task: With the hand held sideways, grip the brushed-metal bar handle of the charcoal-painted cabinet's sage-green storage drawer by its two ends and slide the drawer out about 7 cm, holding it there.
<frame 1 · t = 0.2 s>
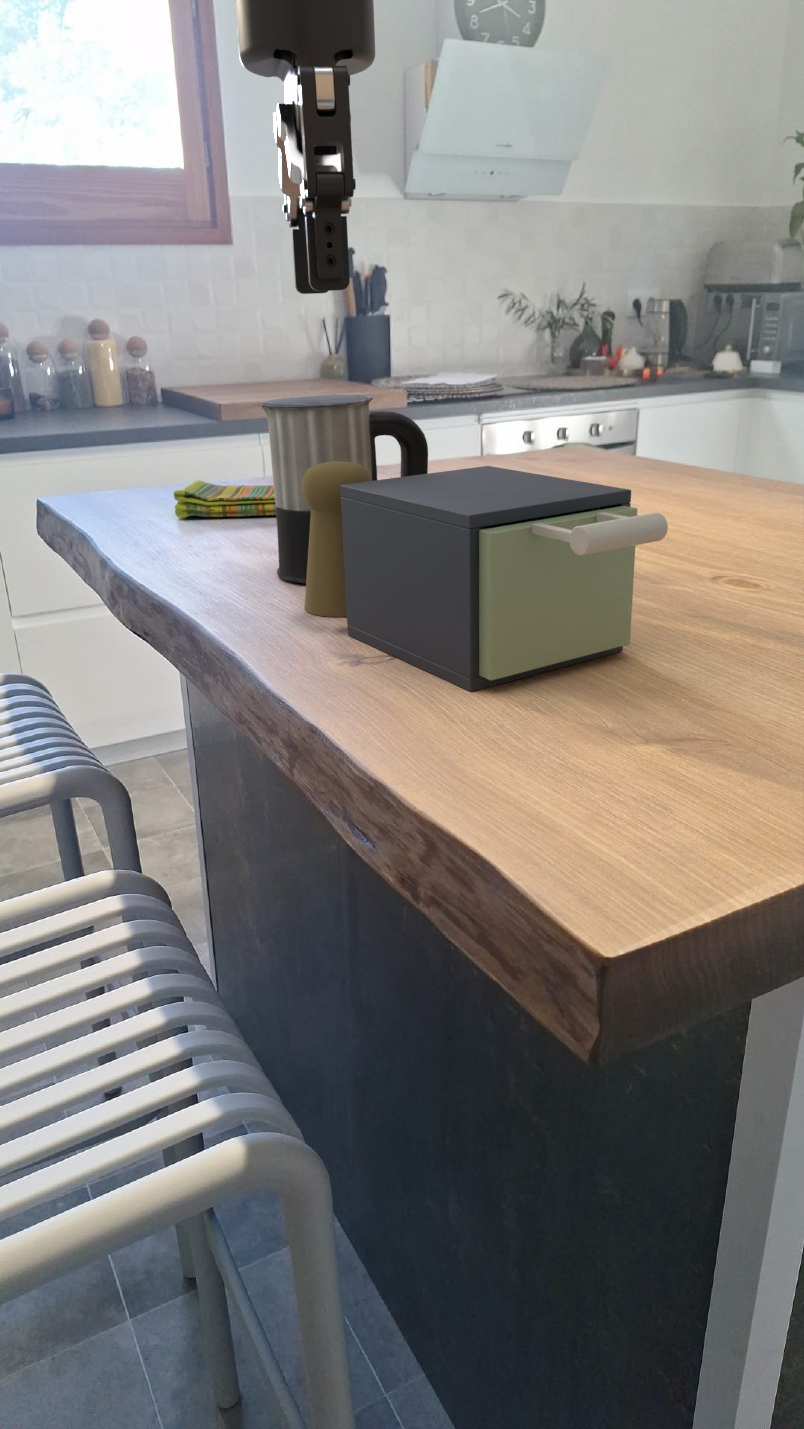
hand: (321, 292, 61), 23 cm above the table, tool pointing down, fingers open, 8 cm apart
milk frother: (333, 564, 94), on the table
dish towel: (333, 505, 122), on the table
olive pawn: (343, 608, 80), on the table
cabinet: (480, 643, 70), on the table
drawer: (520, 574, 64), point 6 cm above the table, slide at 0.0 cm
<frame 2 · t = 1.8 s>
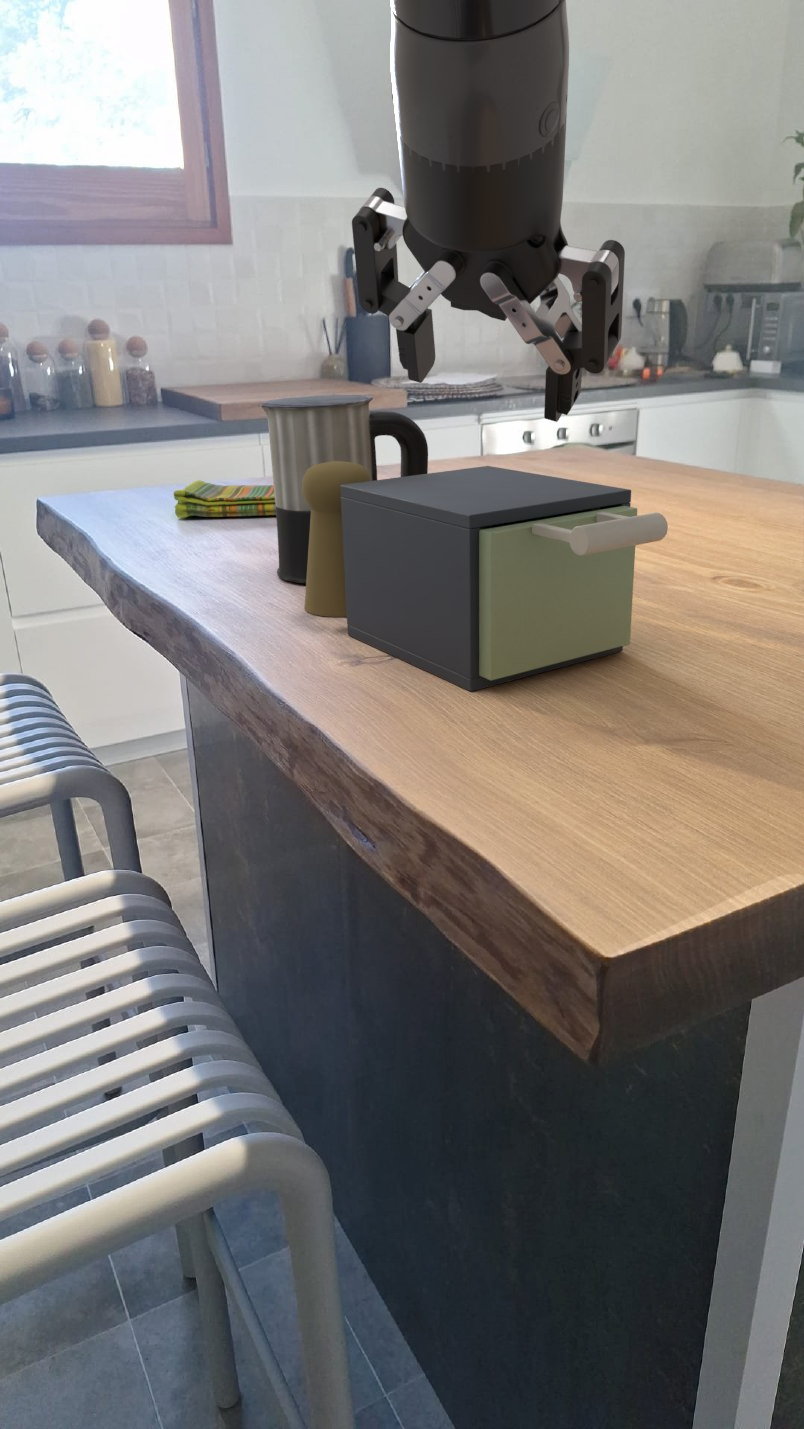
hand: (488, 391, 59), 17 cm above the table, tool tilted 40°, fingers open, 8 cm apart
nothing on the table moved.
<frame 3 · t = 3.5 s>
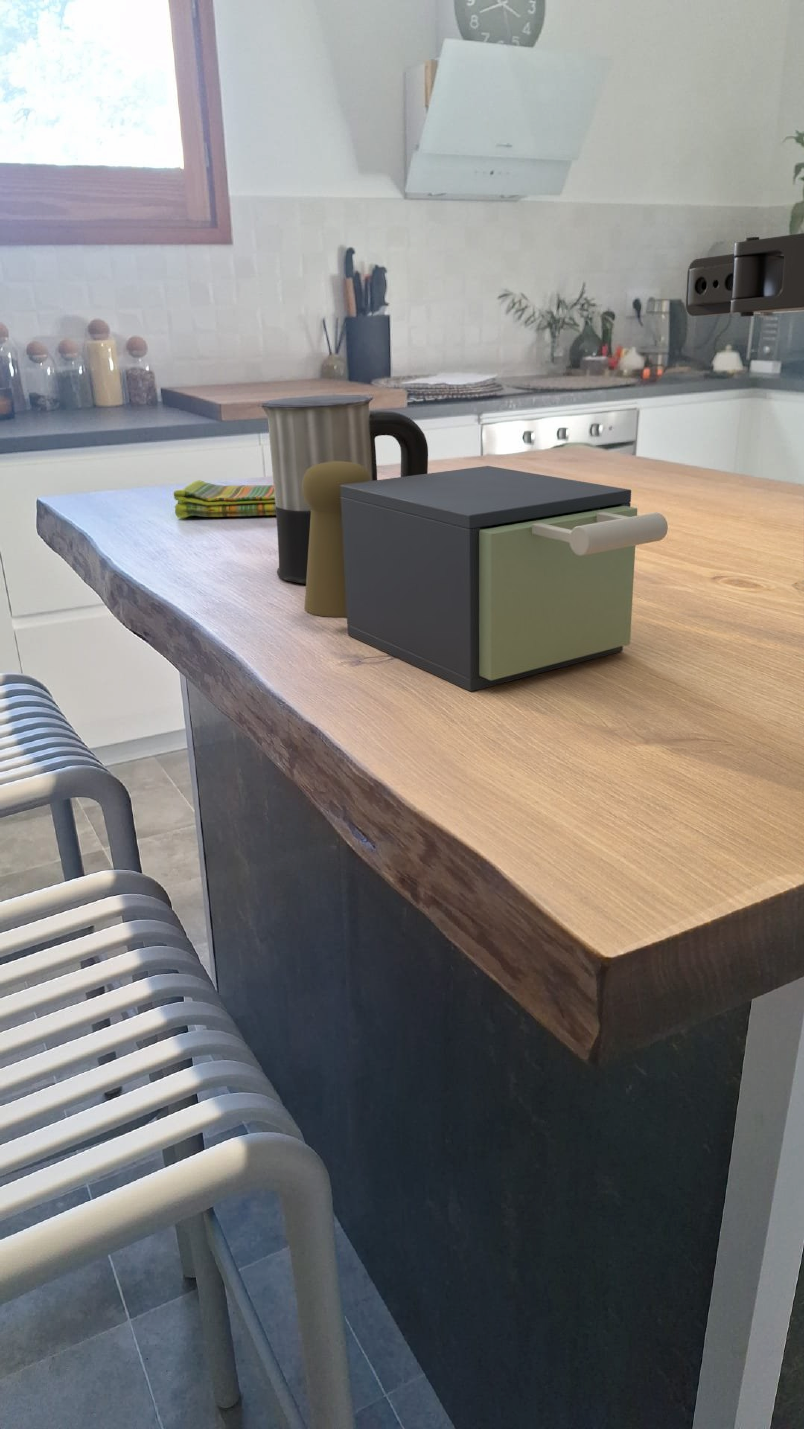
hand: (761, 288, 45), 22 cm above the table, tool horizontal, fingers open, 8 cm apart
nothing on the table moved.
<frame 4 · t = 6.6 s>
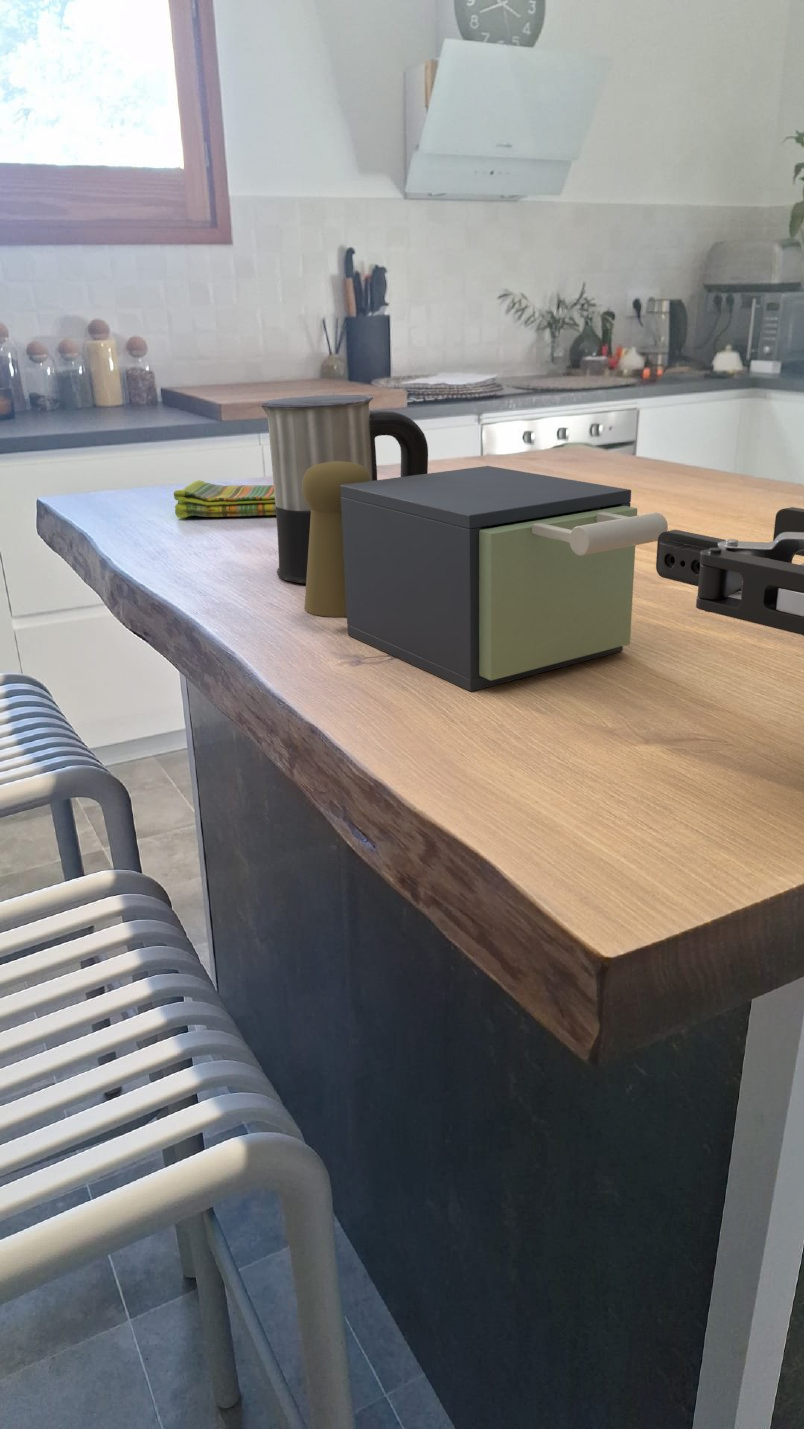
hand: (722, 539, 51), 10 cm above the table, tool horizontal, fingers open, 8 cm apart
nothing on the table moved.
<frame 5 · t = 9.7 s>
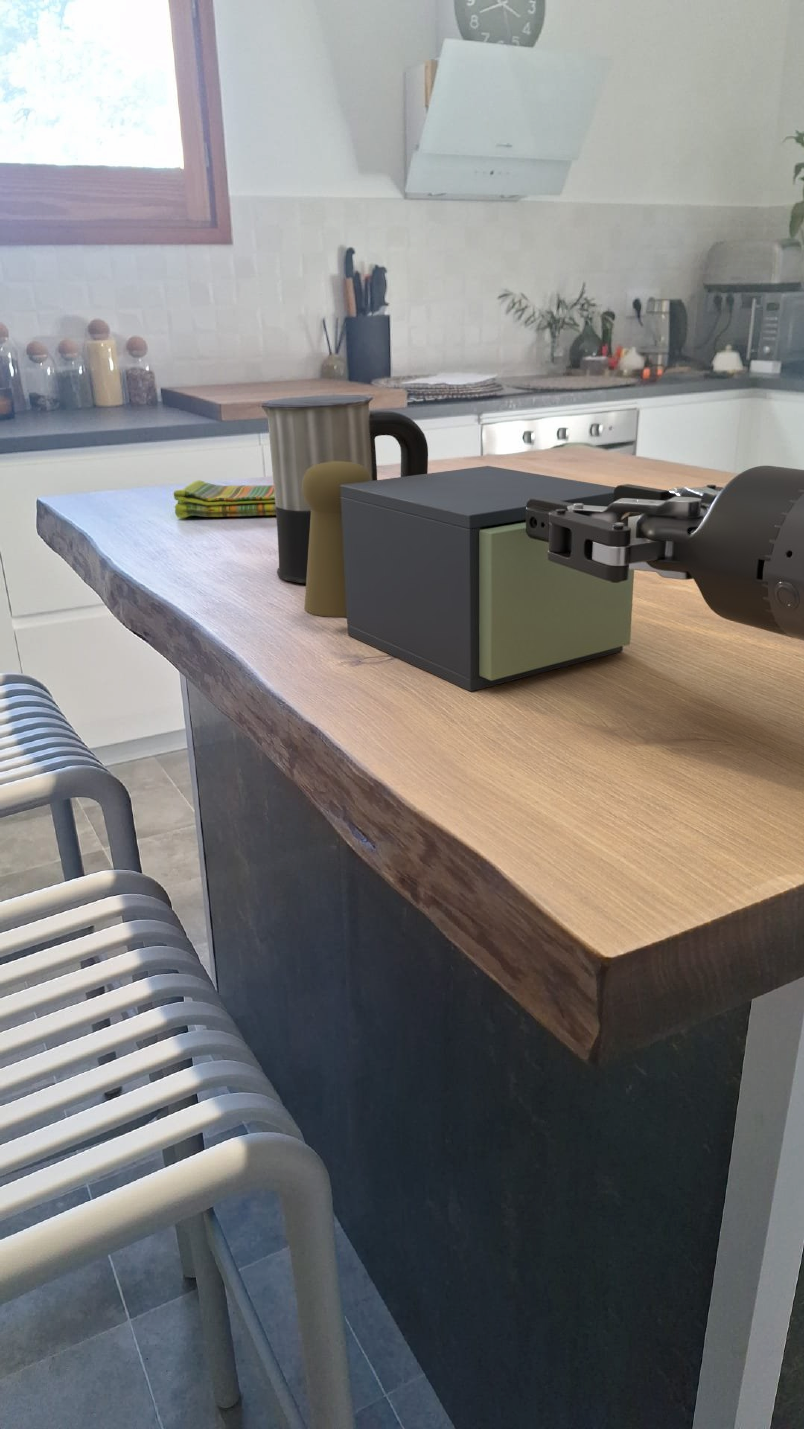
hand: (575, 509, 59), 10 cm above the table, tool horizontal, fingers closed on drawer, 6 cm apart
drawer: (521, 574, 64), point 6 cm above the table, slide at 0.0 cm, touching gripper
everything else where it was.
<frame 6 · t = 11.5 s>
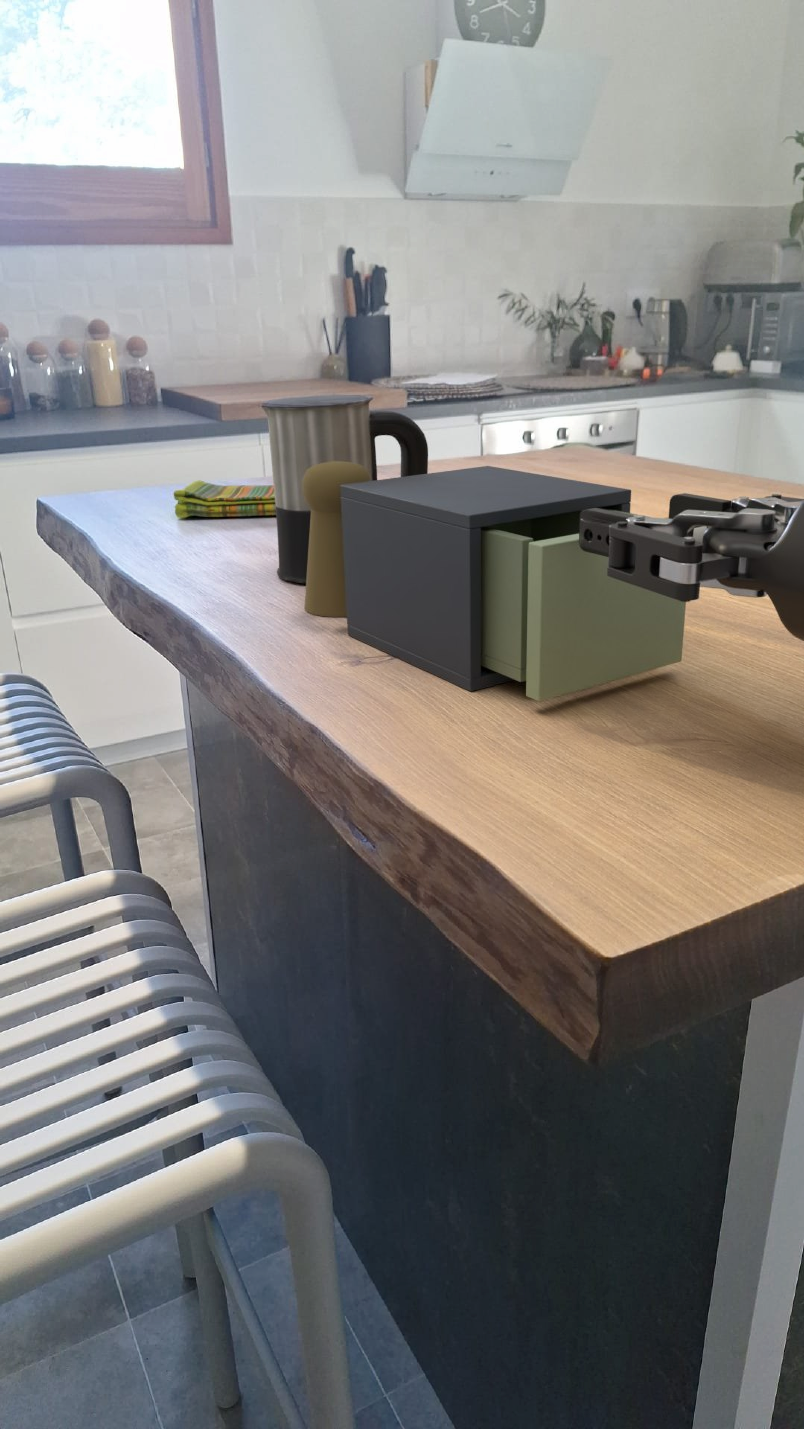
hand: (630, 520, 55), 10 cm above the table, tool horizontal, fingers closed on drawer, 6 cm apart
drawer: (567, 588, 61), point 6 cm above the table, slide at 4.4 cm, touching gripper
everything else where it was.
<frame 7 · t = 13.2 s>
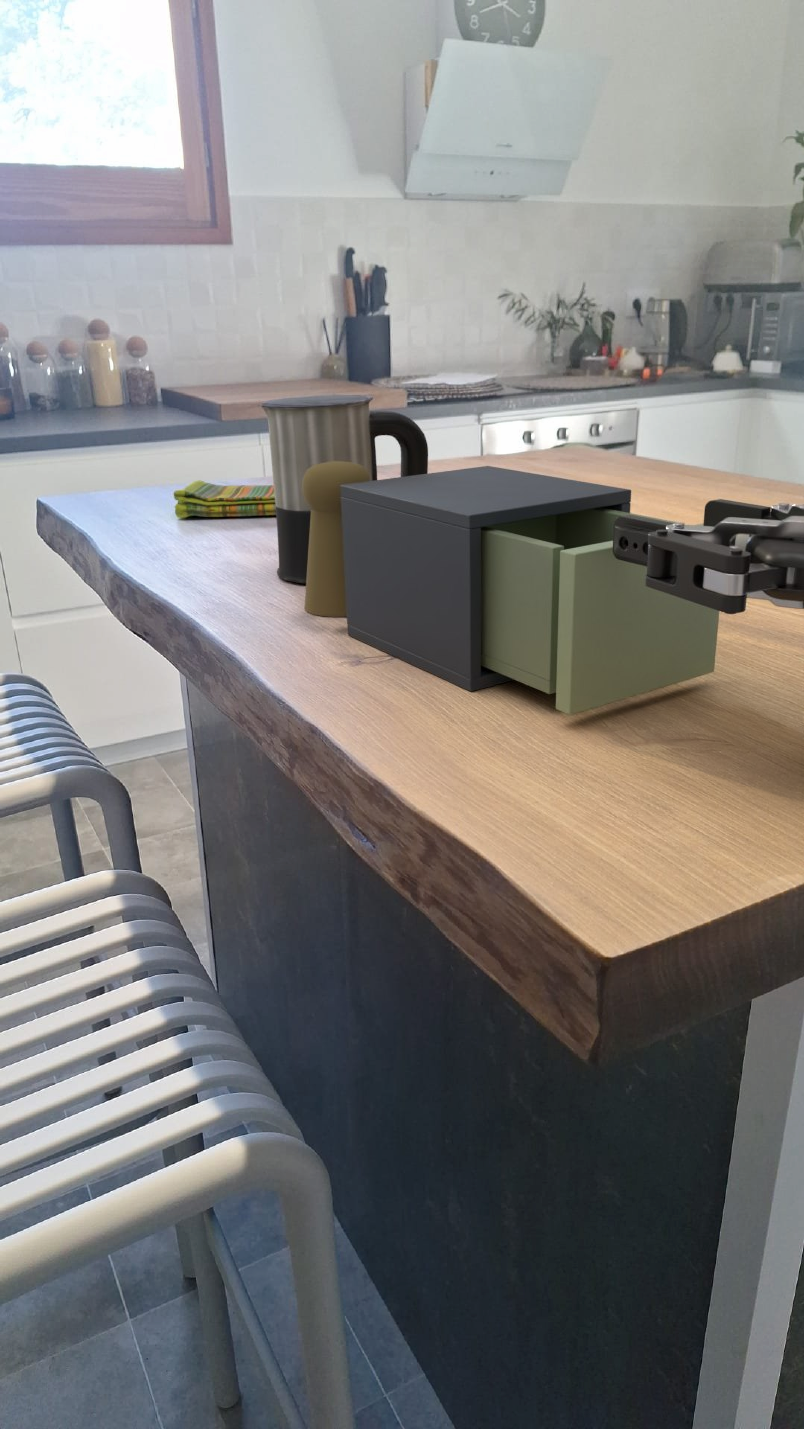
hand: (664, 527, 53), 10 cm above the table, tool horizontal, fingers closed on drawer, 6 cm apart
drawer: (596, 596, 59), point 6 cm above the table, slide at 6.9 cm, touching gripper
everything else where it was.
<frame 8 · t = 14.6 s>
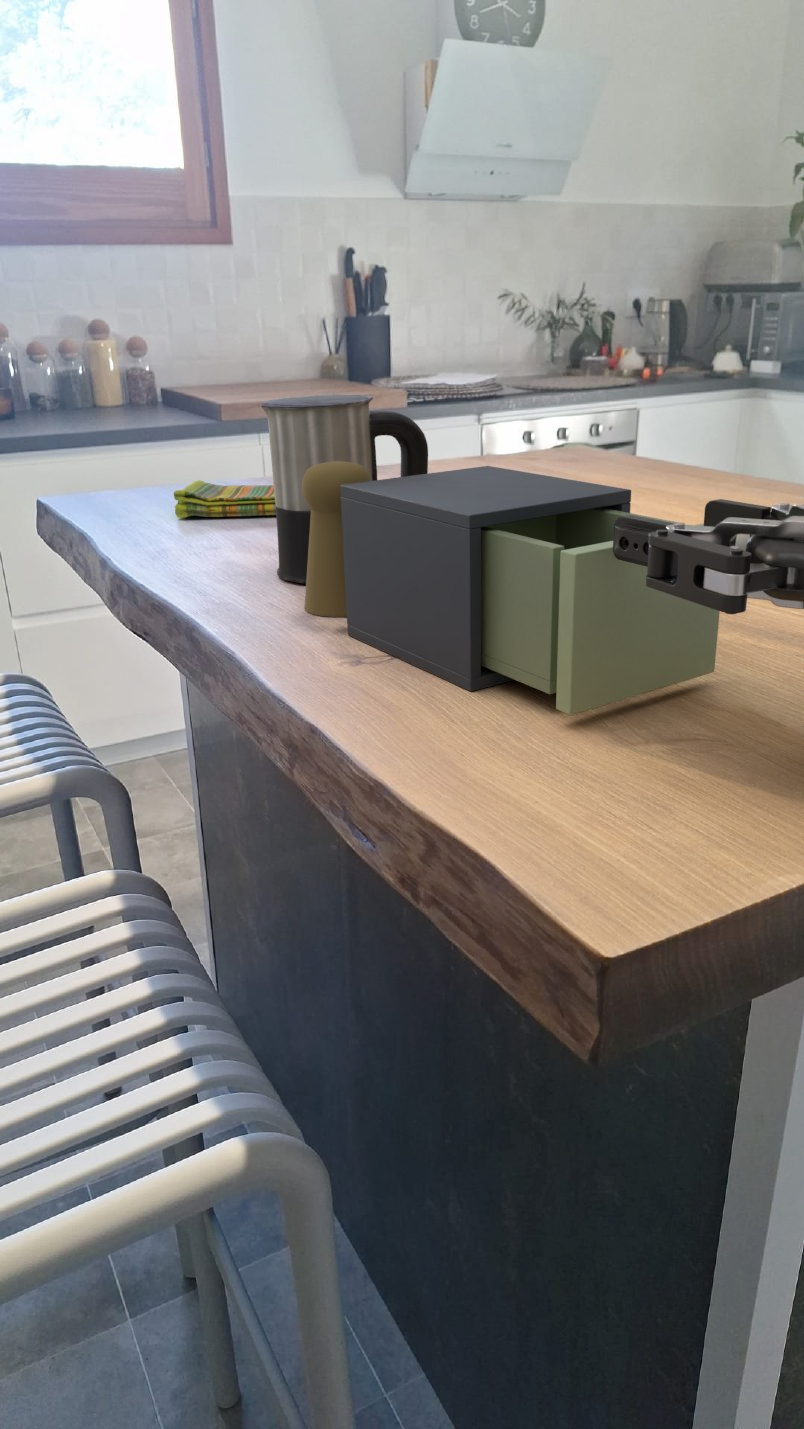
hand: (665, 527, 53), 10 cm above the table, tool horizontal, fingers closed on drawer, 6 cm apart
drawer: (597, 596, 59), point 6 cm above the table, slide at 6.9 cm, touching gripper
everything else where it was.
at the end: drawer slide at 6.9 cm; olive pawn moved 0.2 cm from its start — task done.
